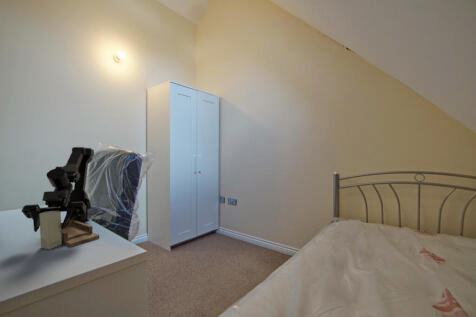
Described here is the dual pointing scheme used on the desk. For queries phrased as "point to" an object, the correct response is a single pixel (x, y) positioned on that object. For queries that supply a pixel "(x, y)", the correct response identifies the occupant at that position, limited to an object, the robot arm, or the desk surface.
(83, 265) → the desk surface
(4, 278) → the desk surface
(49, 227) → the box
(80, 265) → the desk surface
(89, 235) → the tray
